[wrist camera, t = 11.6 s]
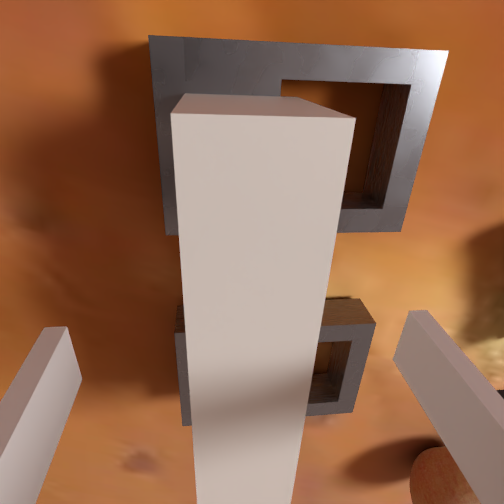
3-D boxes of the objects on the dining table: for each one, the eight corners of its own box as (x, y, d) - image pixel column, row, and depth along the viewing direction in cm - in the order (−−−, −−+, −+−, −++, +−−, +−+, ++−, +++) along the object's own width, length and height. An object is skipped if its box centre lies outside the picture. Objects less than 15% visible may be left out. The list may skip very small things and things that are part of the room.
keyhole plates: (156, 39, 15) (148, 35, 12) (415, 52, 16) (448, 51, 14) (184, 394, 25) (182, 426, 23) (340, 383, 26) (352, 412, 24)
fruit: (485, 434, 32) (562, 536, 25) (445, 479, 36) (504, 581, 29) (417, 428, 31) (479, 536, 24) (381, 476, 34) (426, 584, 27)
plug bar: (187, 89, 15) (170, 113, 8) (286, 93, 16) (355, 118, 9) (200, 375, 24) (198, 516, 17) (264, 371, 24) (290, 505, 17)
